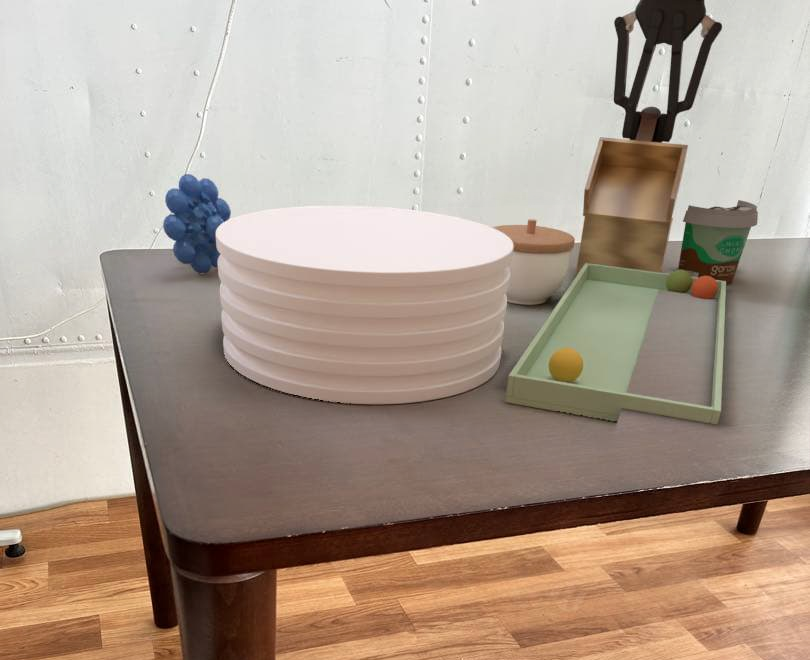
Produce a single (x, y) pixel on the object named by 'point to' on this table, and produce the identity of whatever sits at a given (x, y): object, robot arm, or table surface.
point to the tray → (605, 348)
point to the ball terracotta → (704, 287)
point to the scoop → (635, 176)
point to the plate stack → (363, 302)
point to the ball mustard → (566, 365)
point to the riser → (623, 244)
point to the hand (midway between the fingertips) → (640, 166)
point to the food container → (716, 239)
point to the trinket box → (536, 261)
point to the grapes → (195, 221)
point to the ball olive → (679, 281)
